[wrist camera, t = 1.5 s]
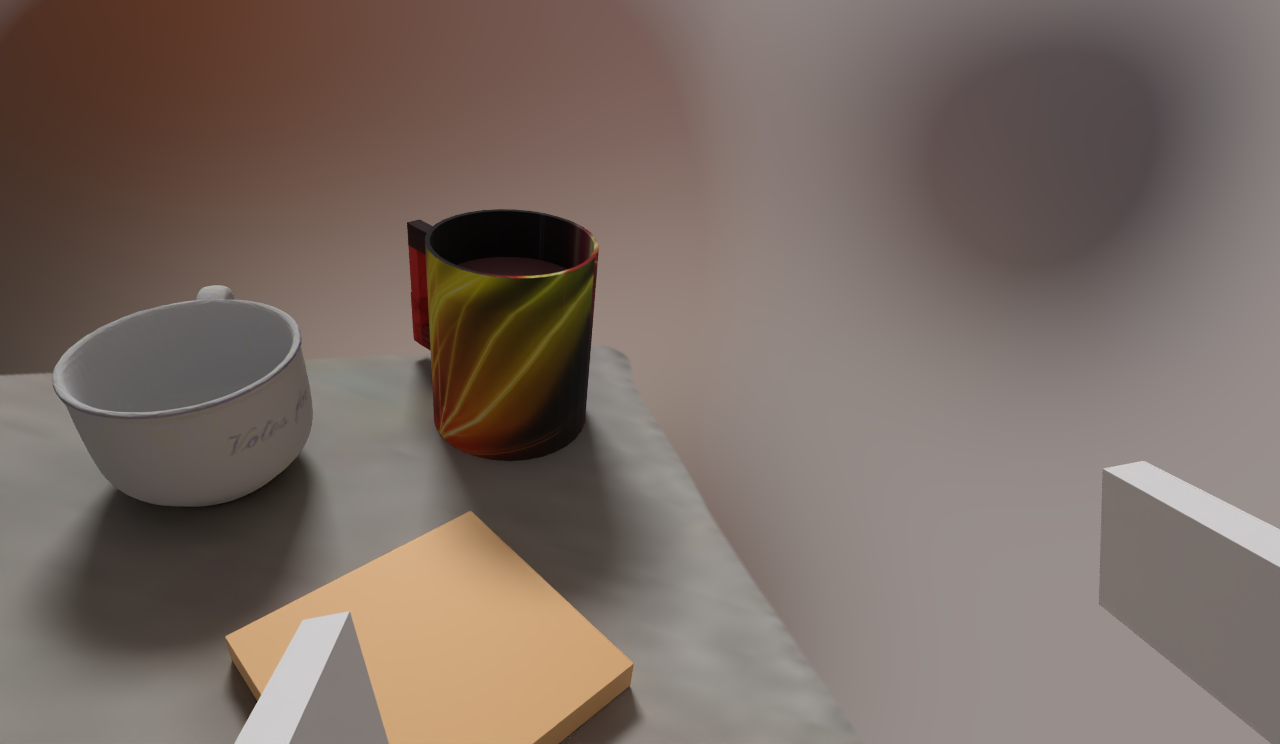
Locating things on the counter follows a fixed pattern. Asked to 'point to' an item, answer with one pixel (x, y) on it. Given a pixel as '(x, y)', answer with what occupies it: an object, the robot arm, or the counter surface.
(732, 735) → the counter surface
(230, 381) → the teacup
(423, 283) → the mug
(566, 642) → the light orange square slab
